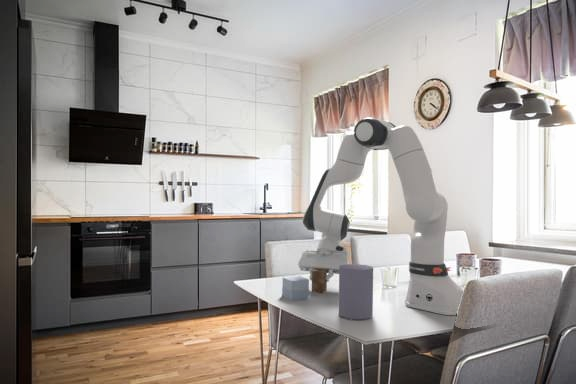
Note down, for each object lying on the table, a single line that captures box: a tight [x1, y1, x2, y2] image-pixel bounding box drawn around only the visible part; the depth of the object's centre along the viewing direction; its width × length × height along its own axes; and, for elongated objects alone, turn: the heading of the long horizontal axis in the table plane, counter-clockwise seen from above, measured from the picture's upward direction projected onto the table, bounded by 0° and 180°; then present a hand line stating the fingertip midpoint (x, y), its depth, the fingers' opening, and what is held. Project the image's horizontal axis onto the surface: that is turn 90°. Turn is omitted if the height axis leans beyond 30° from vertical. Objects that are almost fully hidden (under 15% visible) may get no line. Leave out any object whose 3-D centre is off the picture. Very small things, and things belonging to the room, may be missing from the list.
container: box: [338, 263, 374, 321], centre depth 131 cm, size 10×10×15 cm
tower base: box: [281, 286, 310, 301], centre depth 154 cm, size 7×7×4 cm
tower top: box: [282, 275, 310, 291], centre depth 154 cm, size 7×7×4 cm
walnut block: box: [311, 269, 328, 294], centre depth 164 cm, size 4×4×8 cm
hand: (318, 280), depth 164 cm, fingers closed on walnut block, 4 cm apart
